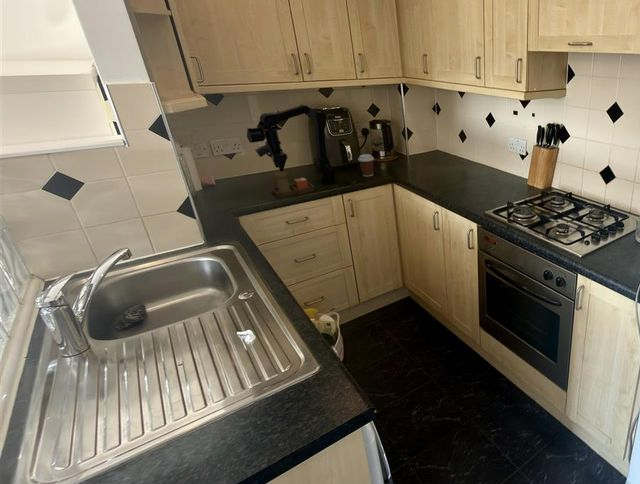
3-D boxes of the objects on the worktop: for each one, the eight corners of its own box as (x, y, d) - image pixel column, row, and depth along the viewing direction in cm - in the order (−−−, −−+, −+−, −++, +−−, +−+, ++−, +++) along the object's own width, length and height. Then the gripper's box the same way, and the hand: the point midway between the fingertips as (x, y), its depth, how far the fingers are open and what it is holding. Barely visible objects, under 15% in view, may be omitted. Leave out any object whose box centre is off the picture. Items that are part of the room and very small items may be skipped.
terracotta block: (305, 186, 223) (303, 177, 221) (308, 188, 220) (306, 179, 218) (295, 188, 220) (293, 179, 218) (298, 190, 217) (296, 181, 215)
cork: (286, 193, 212) (281, 173, 207) (276, 192, 213) (271, 172, 208) (294, 190, 217) (289, 170, 213) (284, 189, 218) (279, 169, 214)
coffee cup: (357, 176, 244) (354, 156, 239) (367, 172, 252) (364, 153, 247) (369, 177, 241) (366, 158, 236) (379, 173, 249) (376, 154, 244)
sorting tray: (308, 185, 227) (307, 181, 226) (314, 190, 219) (314, 186, 218) (272, 191, 216) (271, 187, 215) (278, 198, 208) (277, 193, 207)
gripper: (250, 138, 205) (257, 168, 211) (258, 145, 192) (266, 176, 198) (274, 135, 212) (281, 164, 218) (284, 142, 199) (291, 172, 205)
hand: (279, 169), depth 210 cm, fingers open, 9 cm apart
